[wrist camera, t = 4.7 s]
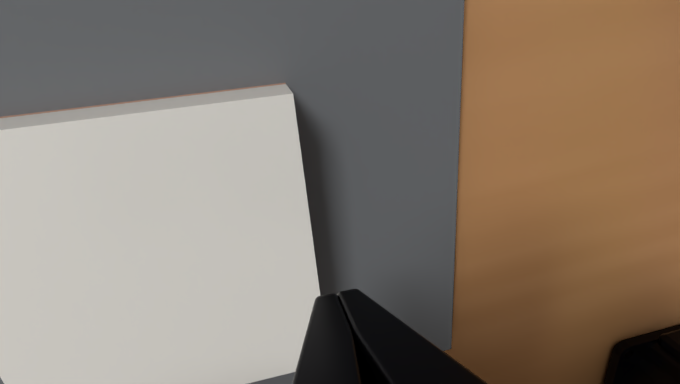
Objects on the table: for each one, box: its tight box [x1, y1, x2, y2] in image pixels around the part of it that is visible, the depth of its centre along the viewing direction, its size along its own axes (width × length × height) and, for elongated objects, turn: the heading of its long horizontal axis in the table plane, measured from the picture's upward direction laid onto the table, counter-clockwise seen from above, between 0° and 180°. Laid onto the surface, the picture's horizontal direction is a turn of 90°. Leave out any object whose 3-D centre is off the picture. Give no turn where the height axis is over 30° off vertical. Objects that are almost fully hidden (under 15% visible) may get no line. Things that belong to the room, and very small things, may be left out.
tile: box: [0, 83, 320, 384], centre depth 10 cm, size 8×2×8 cm
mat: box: [0, 0, 464, 384], centre depth 11 cm, size 16×18×1 cm
